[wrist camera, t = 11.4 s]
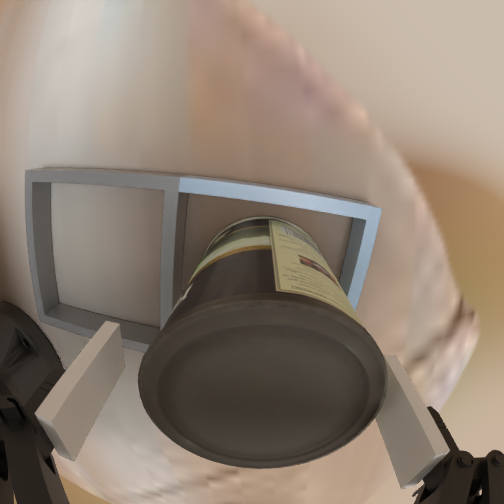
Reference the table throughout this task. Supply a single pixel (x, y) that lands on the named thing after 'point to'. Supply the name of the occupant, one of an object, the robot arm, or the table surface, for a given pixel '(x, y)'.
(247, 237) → the coffee can
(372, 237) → the bay tray
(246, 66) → the table surface
